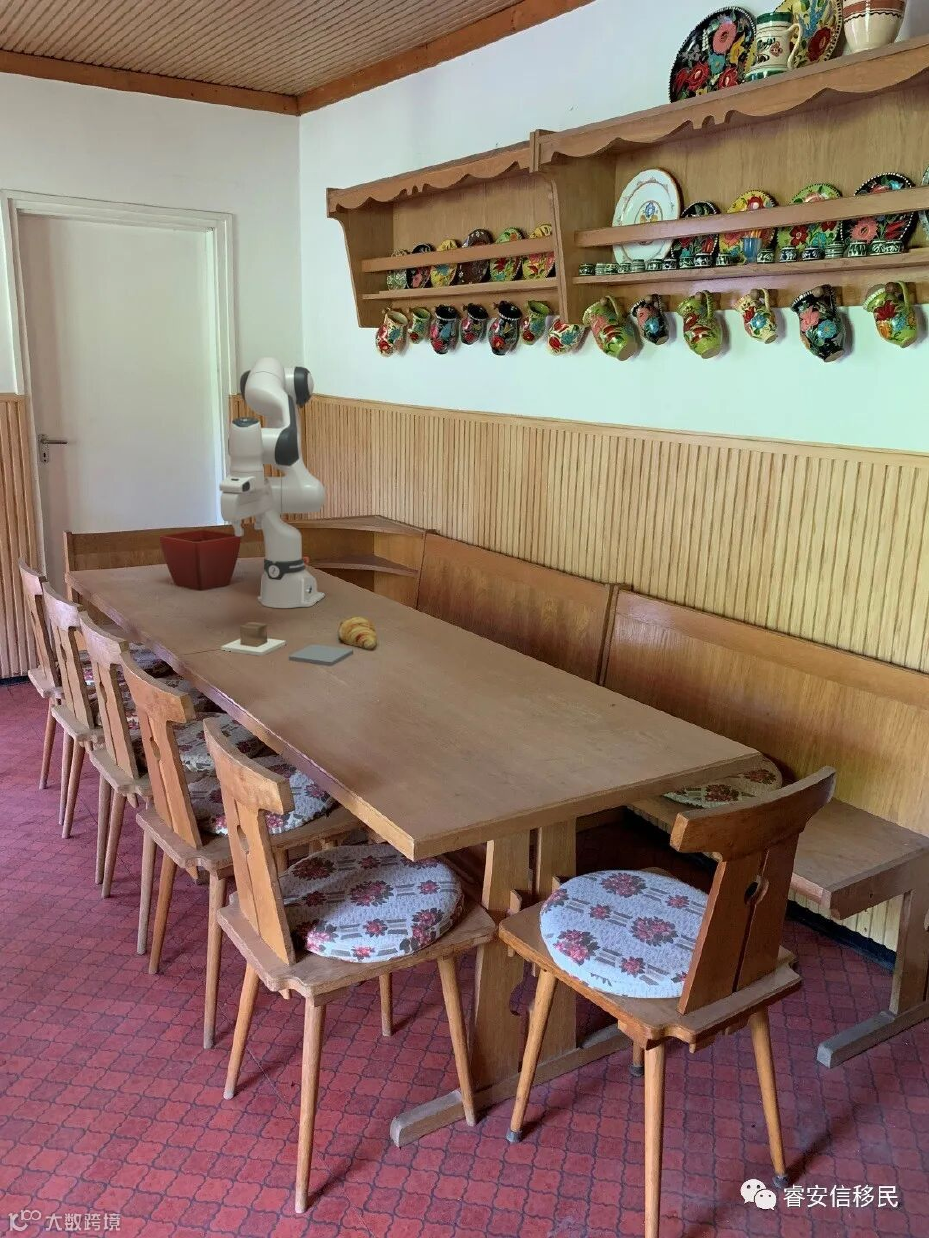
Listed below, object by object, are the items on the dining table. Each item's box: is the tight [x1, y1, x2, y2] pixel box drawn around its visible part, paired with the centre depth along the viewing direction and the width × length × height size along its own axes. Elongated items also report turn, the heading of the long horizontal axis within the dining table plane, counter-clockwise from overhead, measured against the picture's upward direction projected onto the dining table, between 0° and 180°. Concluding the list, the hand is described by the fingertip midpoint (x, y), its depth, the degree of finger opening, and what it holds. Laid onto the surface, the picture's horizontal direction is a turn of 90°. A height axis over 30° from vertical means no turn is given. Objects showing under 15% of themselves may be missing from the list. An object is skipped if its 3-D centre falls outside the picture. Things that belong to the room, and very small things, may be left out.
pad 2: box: [288, 643, 354, 667], centre depth 257 cm, size 12×12×1 cm
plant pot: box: [159, 529, 242, 591], centre depth 332 cm, size 19×19×17 cm
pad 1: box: [220, 637, 287, 657], centre depth 264 cm, size 12×12×1 cm
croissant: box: [337, 615, 378, 650], centre depth 272 cm, size 21×10×8 cm, turn 29°
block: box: [239, 621, 268, 647], centre depth 263 cm, size 5×5×5 cm
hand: (249, 532), depth 269 cm, fingers open, 8 cm apart
